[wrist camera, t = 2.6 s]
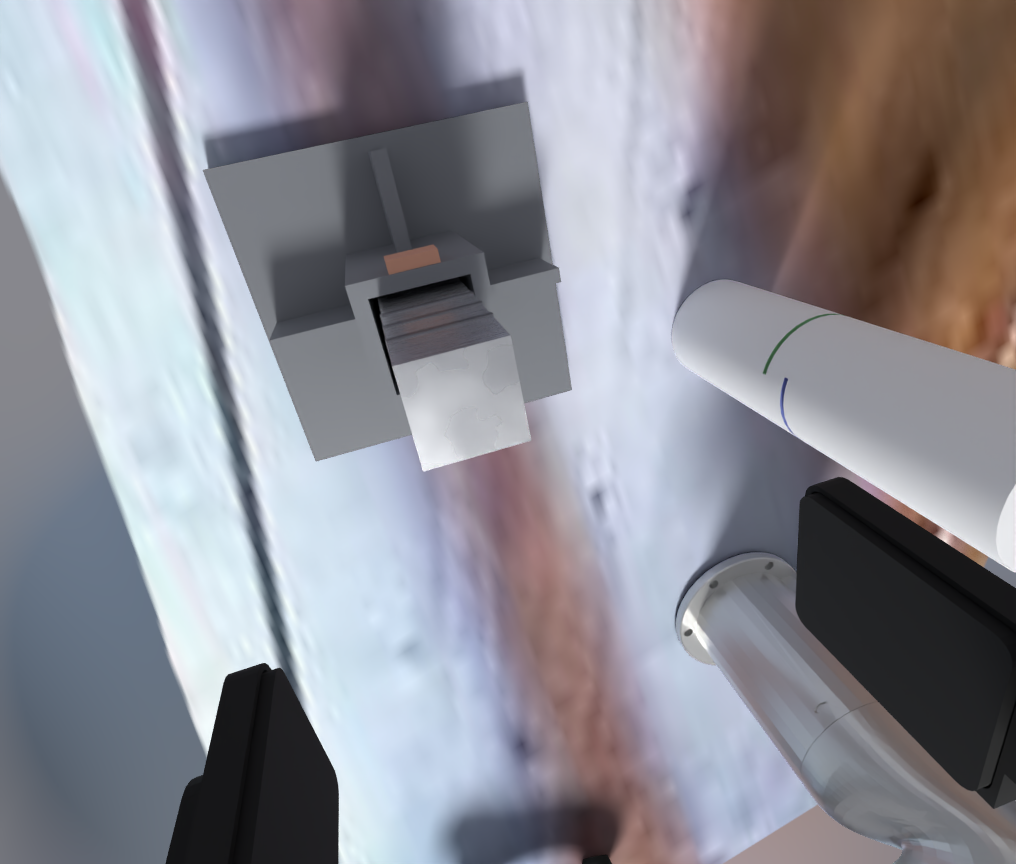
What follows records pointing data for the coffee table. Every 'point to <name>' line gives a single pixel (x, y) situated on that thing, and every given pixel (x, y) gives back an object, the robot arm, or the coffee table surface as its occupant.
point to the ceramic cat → (597, 860)
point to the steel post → (453, 373)
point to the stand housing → (391, 259)
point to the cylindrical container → (868, 403)
